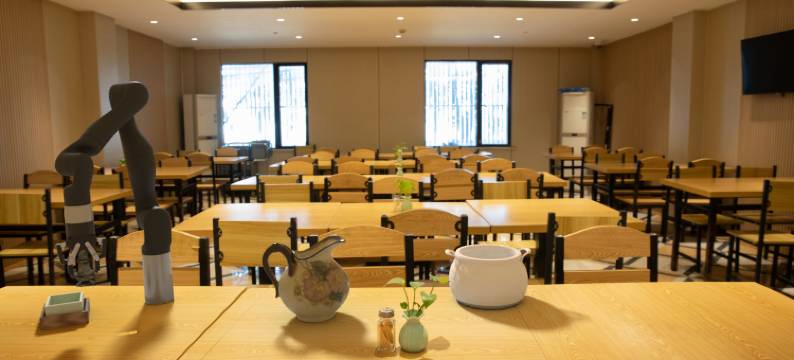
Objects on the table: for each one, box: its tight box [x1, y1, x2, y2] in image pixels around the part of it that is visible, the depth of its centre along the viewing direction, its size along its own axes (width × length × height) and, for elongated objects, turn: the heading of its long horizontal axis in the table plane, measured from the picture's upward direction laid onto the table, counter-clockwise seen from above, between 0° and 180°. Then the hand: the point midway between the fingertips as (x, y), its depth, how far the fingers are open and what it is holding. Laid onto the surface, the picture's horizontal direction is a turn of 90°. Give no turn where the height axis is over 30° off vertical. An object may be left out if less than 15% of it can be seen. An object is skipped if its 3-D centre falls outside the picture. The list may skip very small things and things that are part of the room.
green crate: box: [45, 290, 85, 316], centre depth 191 cm, size 10×12×6 cm
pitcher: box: [261, 234, 351, 323], centre depth 190 cm, size 22×24×25 cm
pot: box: [444, 243, 532, 310], centre depth 205 cm, size 29×26×17 cm
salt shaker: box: [74, 250, 96, 288], centre depth 181 cm, size 6×6×12 cm
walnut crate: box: [39, 296, 91, 331], centre depth 191 cm, size 13×15×4 cm
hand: (84, 274), depth 181 cm, fingers closed on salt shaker, 6 cm apart
